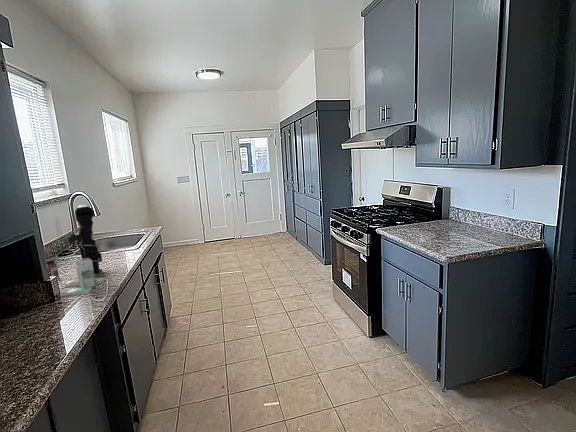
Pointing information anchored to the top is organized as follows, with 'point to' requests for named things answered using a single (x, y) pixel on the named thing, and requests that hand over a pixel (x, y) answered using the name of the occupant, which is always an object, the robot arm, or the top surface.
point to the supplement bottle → (52, 268)
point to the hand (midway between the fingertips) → (84, 258)
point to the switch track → (79, 290)
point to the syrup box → (85, 273)
